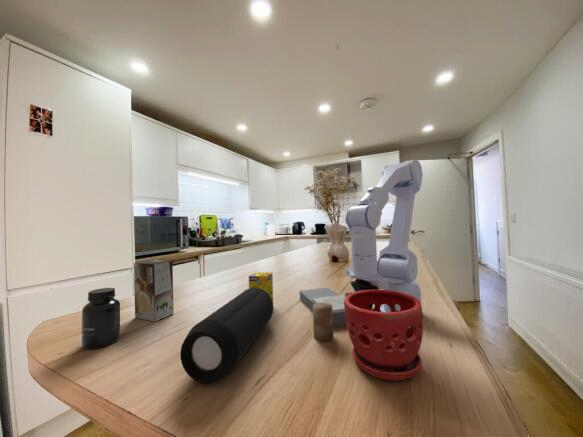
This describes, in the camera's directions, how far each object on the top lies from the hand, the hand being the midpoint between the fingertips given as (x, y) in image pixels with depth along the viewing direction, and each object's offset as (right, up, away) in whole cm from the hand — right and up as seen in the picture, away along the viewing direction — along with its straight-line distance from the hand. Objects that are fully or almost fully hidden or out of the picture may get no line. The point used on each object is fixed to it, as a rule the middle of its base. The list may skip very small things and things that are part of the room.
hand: (366, 311), depth 56 cm
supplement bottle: (-62, -6, -2) cm, 62 cm away
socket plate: (-7, -5, +15) cm, 17 cm away
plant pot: (-1, -4, -13) cm, 14 cm away
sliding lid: (-6, -2, +9) cm, 11 cm away
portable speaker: (-29, -6, -6) cm, 30 cm away
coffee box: (-58, -7, +13) cm, 60 cm away
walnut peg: (-11, -5, -3) cm, 12 cm away
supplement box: (-27, -6, +16) cm, 32 cm away
